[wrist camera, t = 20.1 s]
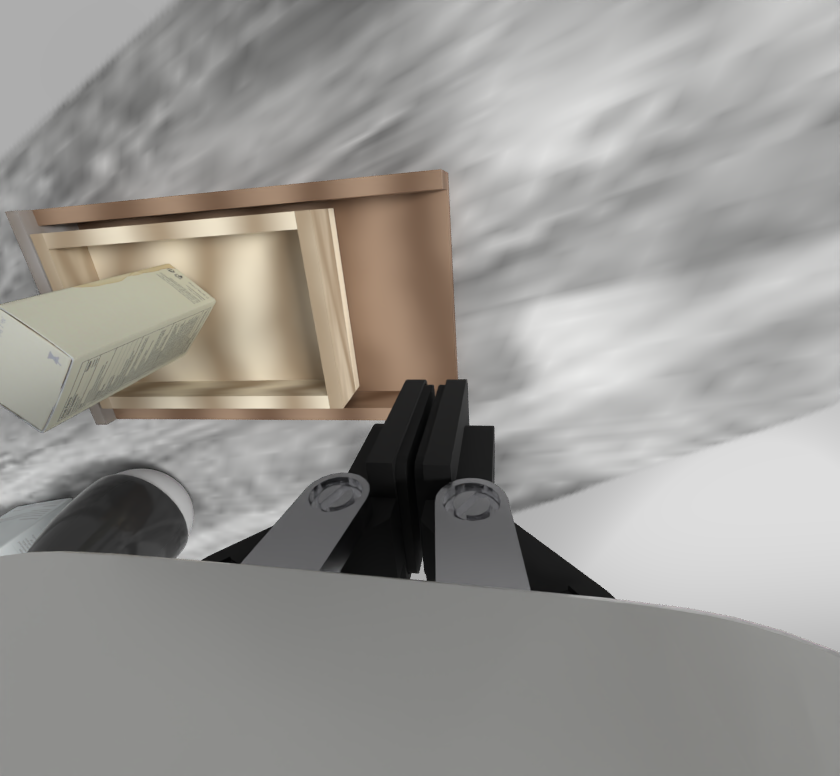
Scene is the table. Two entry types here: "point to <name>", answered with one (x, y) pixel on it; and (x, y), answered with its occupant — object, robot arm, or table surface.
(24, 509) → the skincare box
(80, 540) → the black penguin figurine
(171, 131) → the table surface
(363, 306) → the wooden serving tray
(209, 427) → the table surface
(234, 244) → the birch crate
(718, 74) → the table surface
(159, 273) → the skincare box
